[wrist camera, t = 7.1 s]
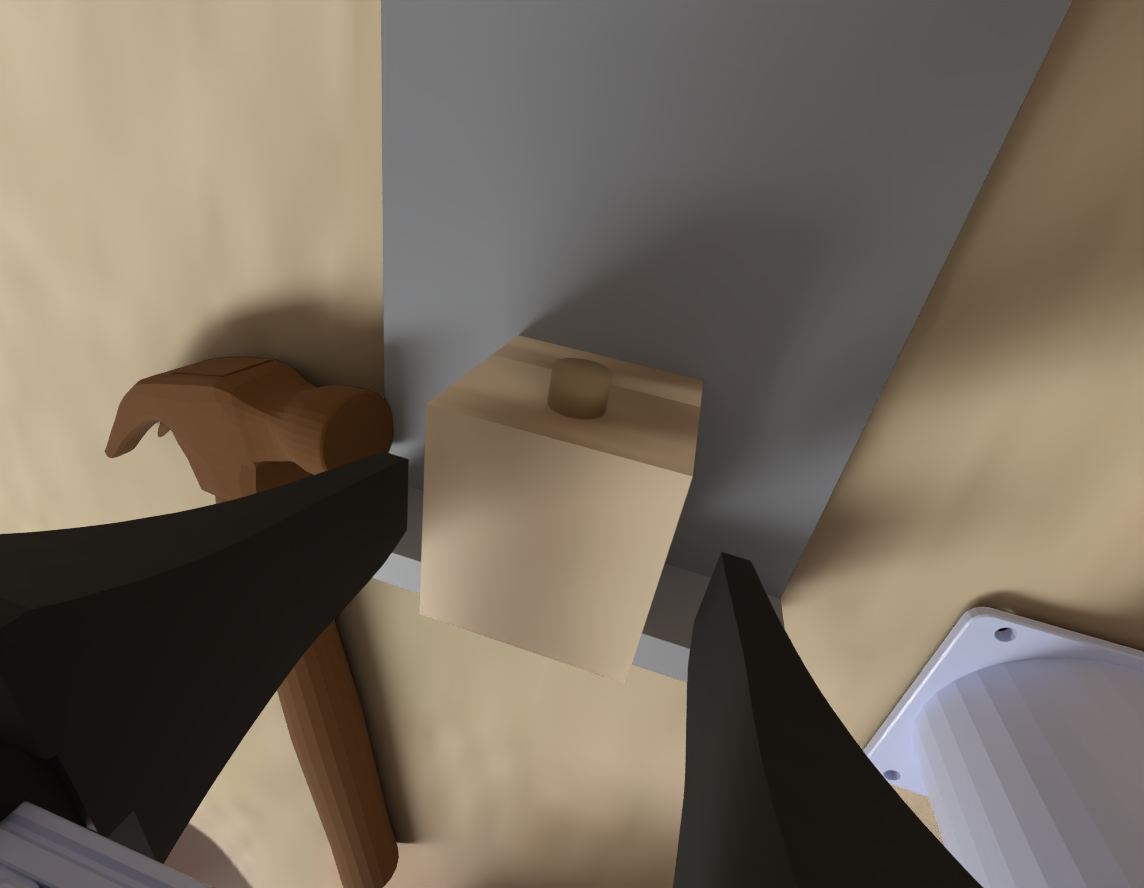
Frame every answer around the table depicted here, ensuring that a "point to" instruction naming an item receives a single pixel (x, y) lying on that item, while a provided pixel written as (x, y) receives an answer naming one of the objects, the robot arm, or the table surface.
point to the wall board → (689, 224)
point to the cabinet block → (555, 499)
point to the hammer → (264, 461)
